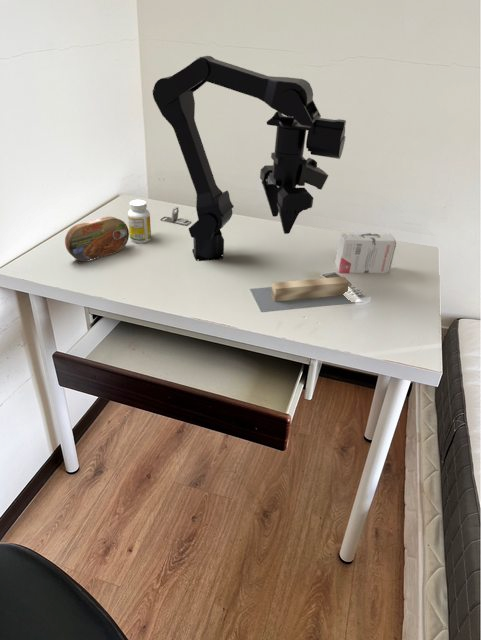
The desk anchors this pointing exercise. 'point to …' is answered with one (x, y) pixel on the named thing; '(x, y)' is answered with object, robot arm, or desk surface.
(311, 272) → the desk surface
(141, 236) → the supplement bottle
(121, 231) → the tin
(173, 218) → the strap clip
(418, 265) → the desk surface
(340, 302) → the tool mat
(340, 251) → the ink box
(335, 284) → the beech stick
